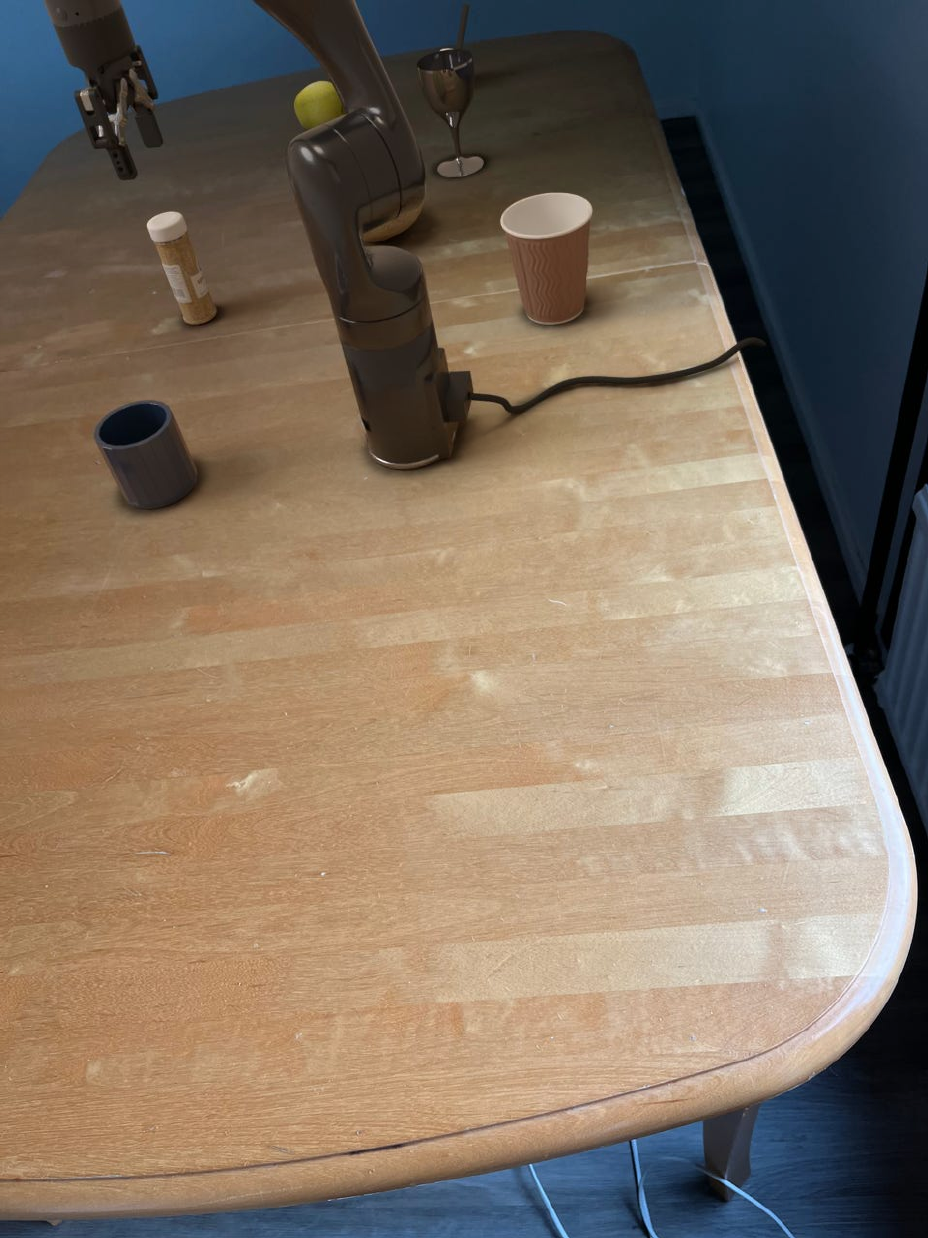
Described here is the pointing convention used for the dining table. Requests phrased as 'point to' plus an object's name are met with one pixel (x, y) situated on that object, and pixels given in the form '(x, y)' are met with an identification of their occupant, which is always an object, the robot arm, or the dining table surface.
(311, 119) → the apple
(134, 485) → the holder cup
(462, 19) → the dark thin bar
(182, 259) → the sprinkles bottle
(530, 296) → the coffee cup
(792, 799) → the dining table surface
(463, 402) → the robot arm
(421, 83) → the wine glass
